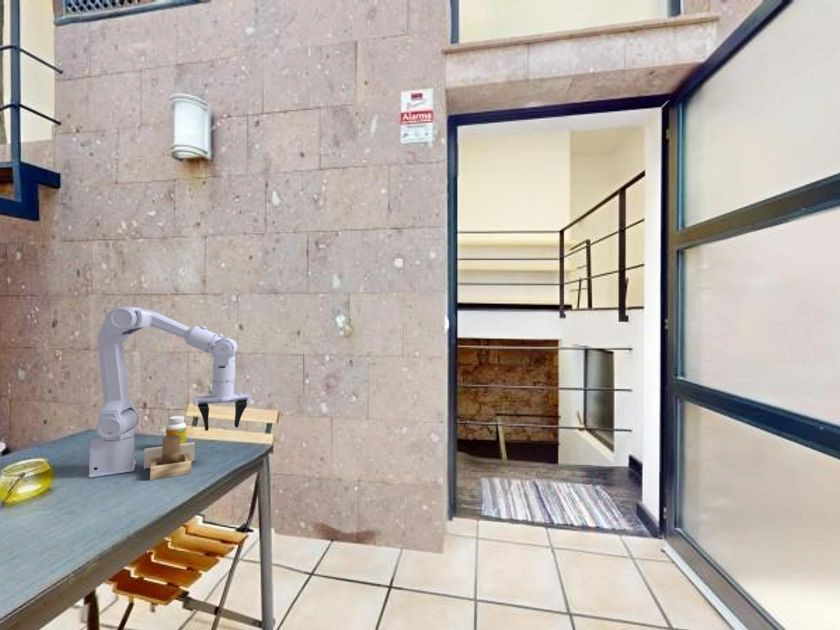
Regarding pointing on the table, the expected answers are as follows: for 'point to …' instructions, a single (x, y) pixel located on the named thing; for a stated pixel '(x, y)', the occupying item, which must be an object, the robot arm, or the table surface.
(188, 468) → the socket block
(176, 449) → the dowel
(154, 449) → the wall
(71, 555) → the table surface
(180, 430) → the supplement bottle
